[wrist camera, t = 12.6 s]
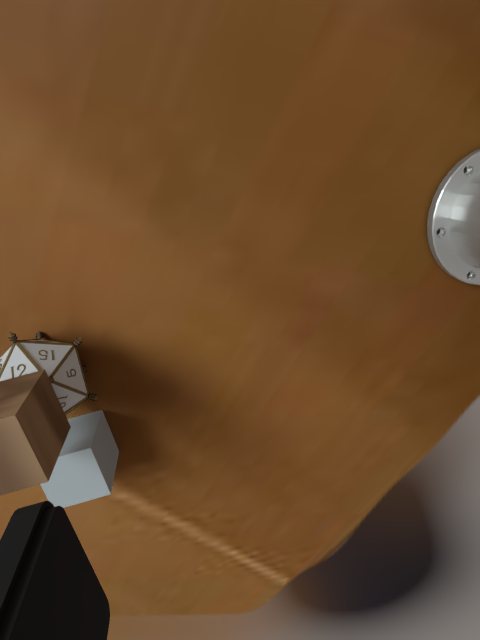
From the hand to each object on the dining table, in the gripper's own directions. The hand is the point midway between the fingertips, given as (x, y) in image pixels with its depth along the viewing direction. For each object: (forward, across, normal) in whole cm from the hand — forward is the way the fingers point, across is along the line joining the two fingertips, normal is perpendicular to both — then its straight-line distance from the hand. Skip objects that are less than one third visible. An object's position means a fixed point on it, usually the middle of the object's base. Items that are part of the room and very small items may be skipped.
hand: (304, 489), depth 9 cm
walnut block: (+22, +16, +7) cm, 28 cm away
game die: (+31, +16, +7) cm, 35 cm away
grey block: (+30, +16, +16) cm, 38 cm away
